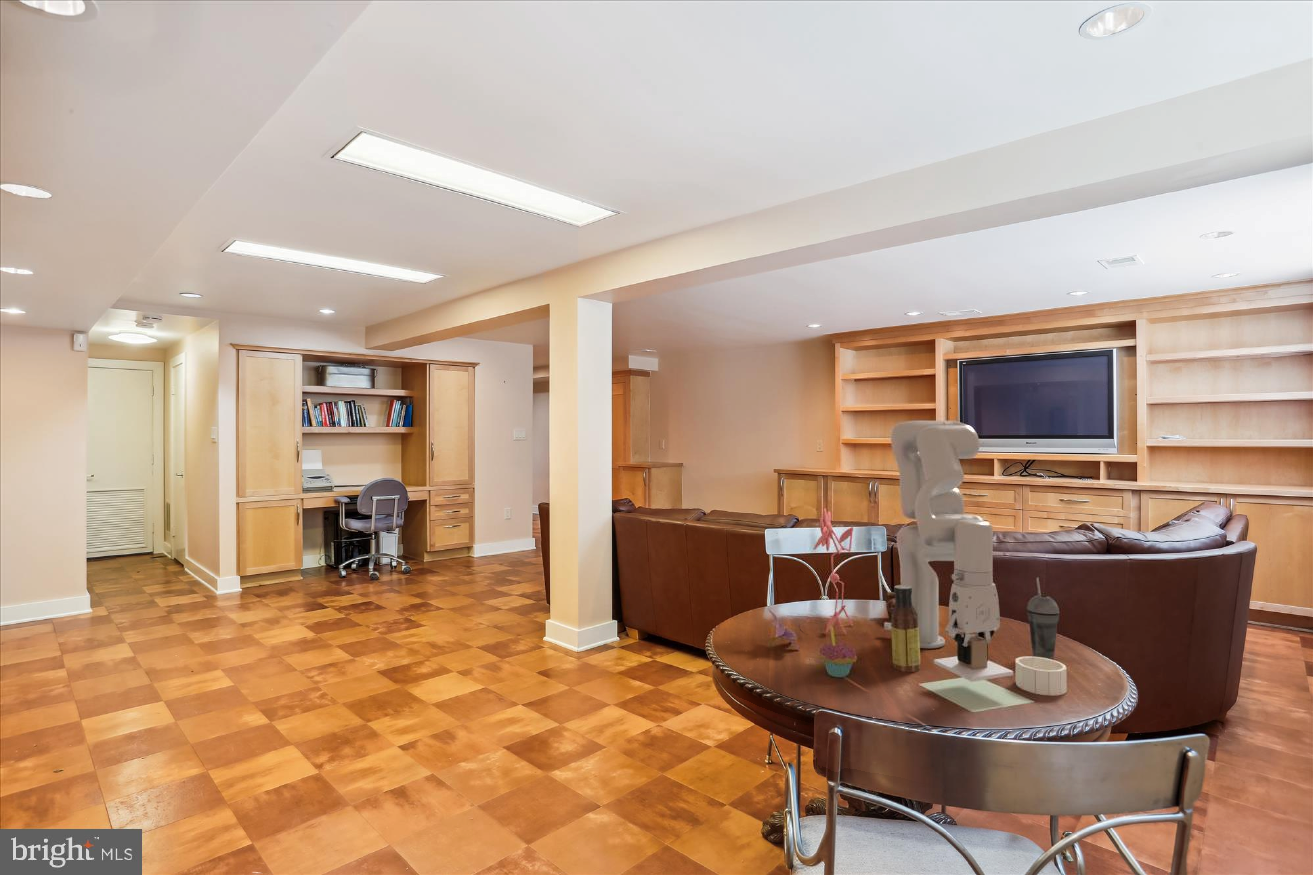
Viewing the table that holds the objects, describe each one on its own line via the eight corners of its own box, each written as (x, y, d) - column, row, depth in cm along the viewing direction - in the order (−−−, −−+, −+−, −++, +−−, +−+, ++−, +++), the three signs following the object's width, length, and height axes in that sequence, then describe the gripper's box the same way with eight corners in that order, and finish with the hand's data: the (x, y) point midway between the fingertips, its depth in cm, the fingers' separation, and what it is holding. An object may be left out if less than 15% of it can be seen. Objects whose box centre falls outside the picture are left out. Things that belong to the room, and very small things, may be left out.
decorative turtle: (895, 613, 208) (897, 588, 207) (935, 629, 194) (937, 602, 194) (872, 615, 203) (874, 590, 203) (911, 632, 190) (914, 604, 189)
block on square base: (971, 681, 136) (971, 649, 136) (933, 663, 147) (934, 632, 146) (1013, 674, 140) (1013, 643, 139) (973, 657, 150) (973, 627, 150)
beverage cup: (1065, 663, 161) (1064, 581, 162) (1032, 661, 163) (1031, 580, 163) (1053, 653, 169) (1052, 575, 169) (1022, 651, 170) (1021, 574, 170)
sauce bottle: (919, 666, 160) (919, 584, 160) (921, 675, 154) (920, 590, 154) (891, 663, 162) (890, 582, 162) (891, 672, 156) (890, 588, 156)
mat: (973, 714, 132) (973, 712, 132) (918, 685, 147) (918, 684, 147) (1034, 703, 137) (1034, 701, 137) (975, 677, 152) (975, 675, 152)
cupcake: (836, 682, 150) (836, 629, 150) (811, 671, 157) (811, 620, 157) (864, 676, 154) (864, 624, 154) (838, 665, 161) (838, 616, 161)
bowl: (1016, 692, 143) (1016, 667, 143) (1015, 677, 152) (1014, 654, 152) (1068, 700, 139) (1068, 674, 139) (1063, 684, 147) (1063, 660, 147)
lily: (795, 662, 166) (810, 627, 168) (752, 641, 169) (767, 606, 171) (793, 662, 177) (807, 629, 179) (752, 642, 180) (767, 609, 182)
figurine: (861, 619, 201) (857, 504, 201) (842, 642, 178) (838, 513, 179) (811, 614, 208) (808, 503, 209) (787, 636, 186) (783, 512, 186)
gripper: (954, 584, 136) (954, 672, 137) (1017, 578, 141) (1017, 662, 142) (929, 576, 143) (928, 659, 144) (990, 570, 149) (989, 650, 149)
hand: (972, 660), depth 143 cm, fingers closed on block on square base, 4 cm apart
